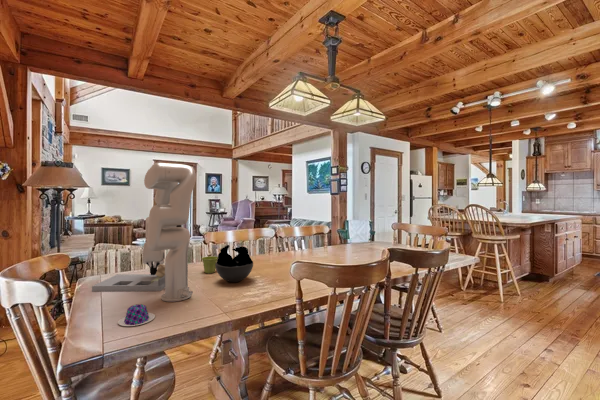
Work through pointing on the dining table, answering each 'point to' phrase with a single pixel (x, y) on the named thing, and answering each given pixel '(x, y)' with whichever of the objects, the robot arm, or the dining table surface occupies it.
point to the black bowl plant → (234, 264)
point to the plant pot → (209, 264)
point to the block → (161, 270)
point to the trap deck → (131, 283)
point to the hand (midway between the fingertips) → (153, 274)
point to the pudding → (136, 316)
